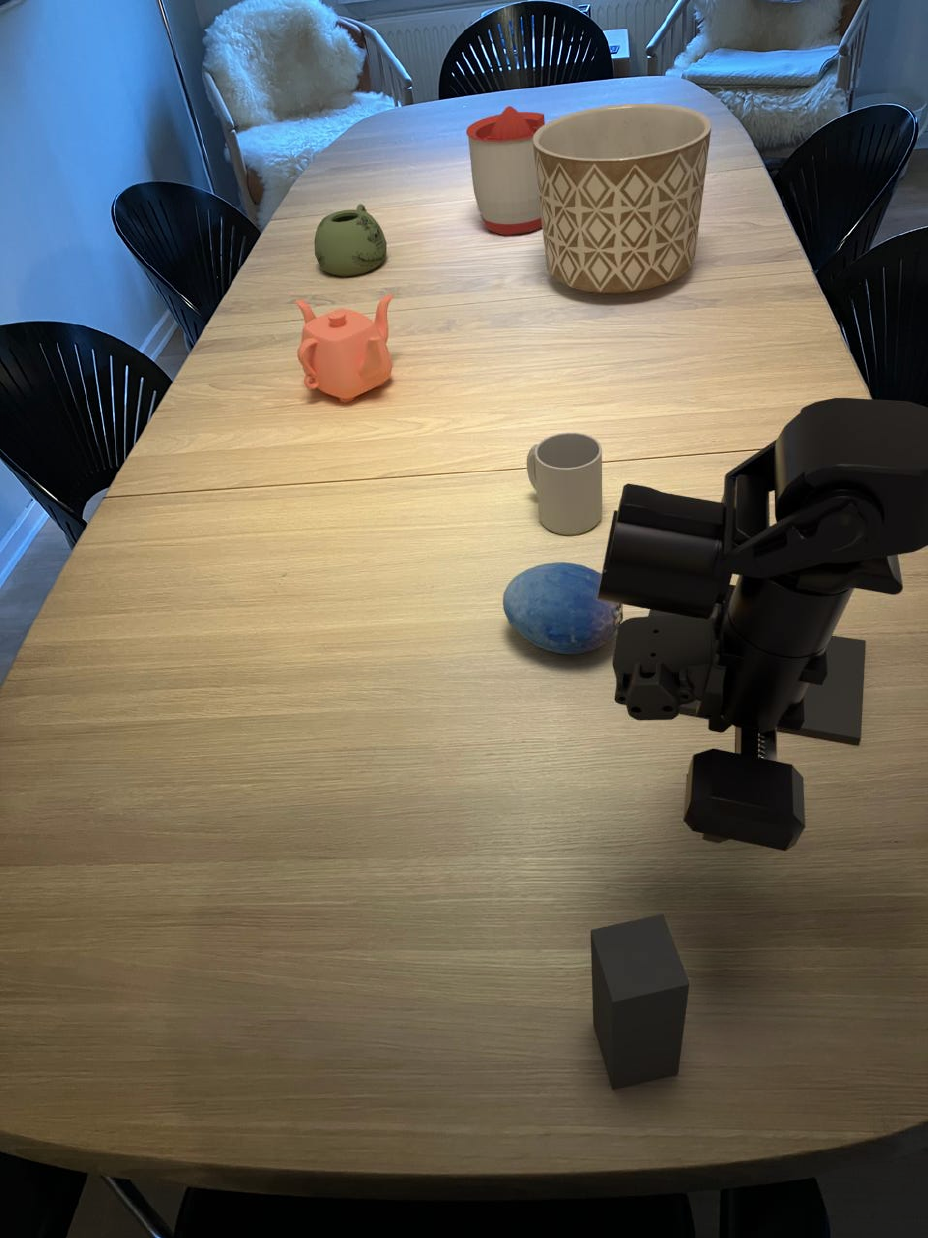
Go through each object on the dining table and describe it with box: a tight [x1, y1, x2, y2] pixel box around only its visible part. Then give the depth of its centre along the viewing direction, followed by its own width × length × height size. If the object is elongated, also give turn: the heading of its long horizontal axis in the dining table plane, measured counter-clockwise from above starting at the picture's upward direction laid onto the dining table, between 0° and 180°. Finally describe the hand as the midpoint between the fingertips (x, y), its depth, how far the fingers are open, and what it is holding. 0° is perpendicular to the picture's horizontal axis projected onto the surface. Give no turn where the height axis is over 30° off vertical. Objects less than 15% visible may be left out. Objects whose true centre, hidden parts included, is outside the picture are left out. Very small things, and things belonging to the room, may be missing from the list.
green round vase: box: [314, 203, 388, 277], centre depth 164 cm, size 16×13×9 cm
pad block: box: [590, 913, 690, 1090], centre depth 58 cm, size 4×4×13 cm
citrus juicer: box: [465, 105, 546, 236], centre depth 165 cm, size 16×17×20 cm
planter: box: [533, 103, 712, 296], centre depth 144 cm, size 26×26×22 cm
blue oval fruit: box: [502, 561, 624, 655], centre depth 88 cm, size 9×9×15 cm
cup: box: [525, 432, 603, 536], centre depth 103 cm, size 7×10×9 cm
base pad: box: [647, 609, 867, 746], centre depth 84 cm, size 20×12×4 cm, turn 71°
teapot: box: [295, 293, 394, 403], centre depth 130 cm, size 14×14×11 cm
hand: (713, 782), depth 63 cm, fingers open, 9 cm apart
